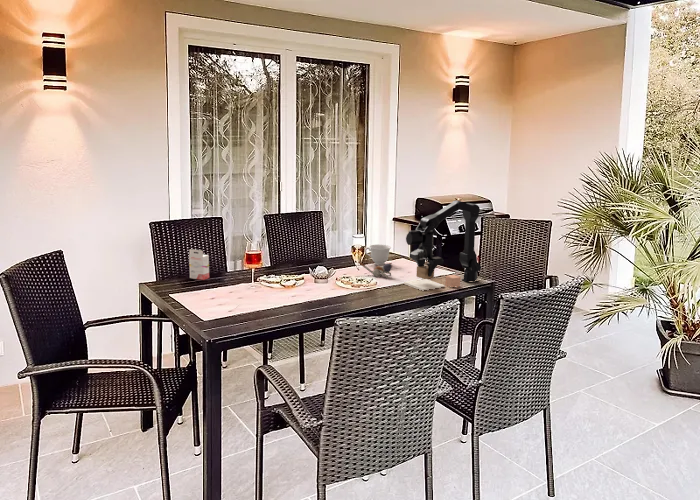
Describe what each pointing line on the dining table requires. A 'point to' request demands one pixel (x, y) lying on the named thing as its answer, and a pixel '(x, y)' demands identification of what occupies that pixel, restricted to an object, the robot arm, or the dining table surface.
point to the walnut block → (423, 272)
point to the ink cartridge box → (198, 265)
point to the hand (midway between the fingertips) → (425, 275)
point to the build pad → (424, 284)
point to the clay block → (452, 280)
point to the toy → (379, 270)
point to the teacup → (379, 253)
